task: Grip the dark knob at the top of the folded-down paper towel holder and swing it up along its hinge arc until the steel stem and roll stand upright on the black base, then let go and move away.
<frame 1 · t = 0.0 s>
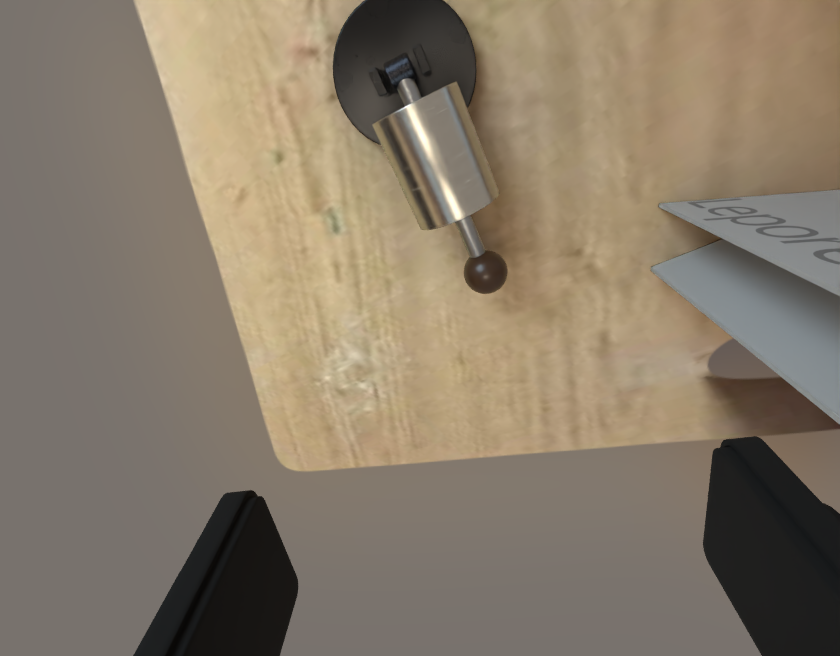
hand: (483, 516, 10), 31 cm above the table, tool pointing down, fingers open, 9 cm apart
holder base: (405, 74, 34), on the table
paper towel holder: (448, 185, 33), point 5 cm above the table, hinge at 0.0°
brochure: (745, 230, 38), on the table
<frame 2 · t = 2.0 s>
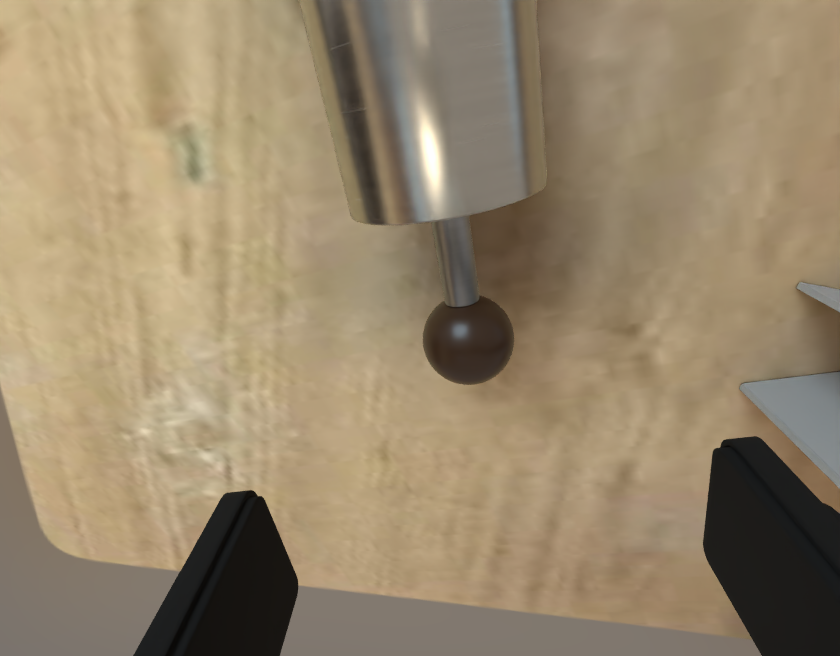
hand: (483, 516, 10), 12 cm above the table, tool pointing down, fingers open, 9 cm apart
paper towel holder: (437, 133, 14), point 5 cm above the table, hinge at 0.0°
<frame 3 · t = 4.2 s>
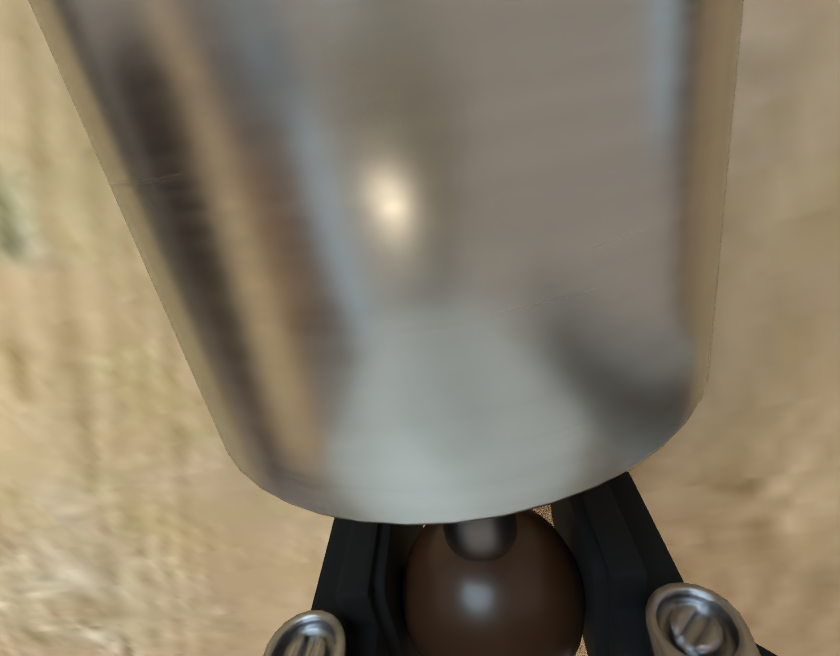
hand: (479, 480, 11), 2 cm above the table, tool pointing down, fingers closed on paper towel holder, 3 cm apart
paper towel holder: (426, 211, 6), point 5 cm above the table, hinge at 0.0°, touching gripper
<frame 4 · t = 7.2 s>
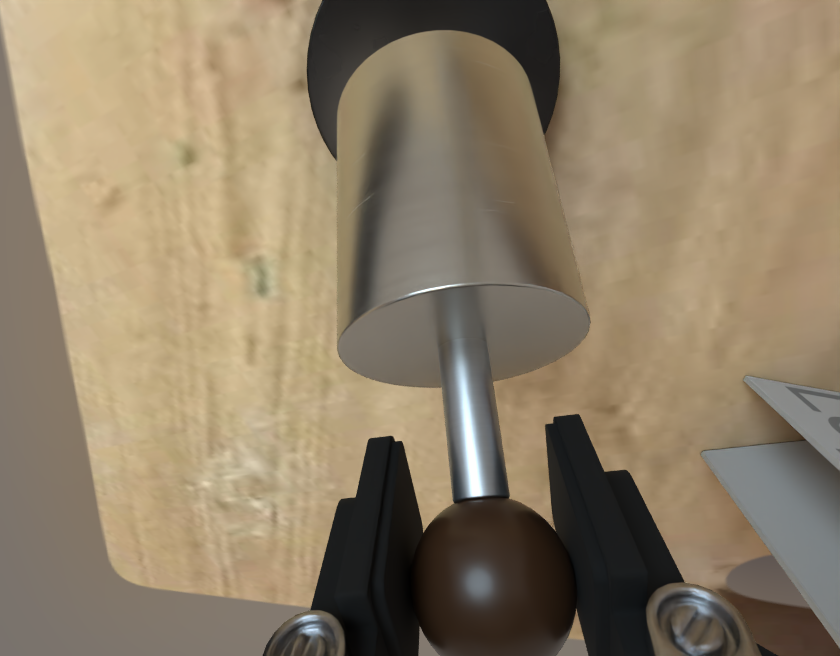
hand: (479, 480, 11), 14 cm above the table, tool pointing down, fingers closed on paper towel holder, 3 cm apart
holder base: (432, 84, 20), on the table
paper towel holder: (454, 282, 12), point 11 cm above the table, hinge at 50.9°, touching gripper
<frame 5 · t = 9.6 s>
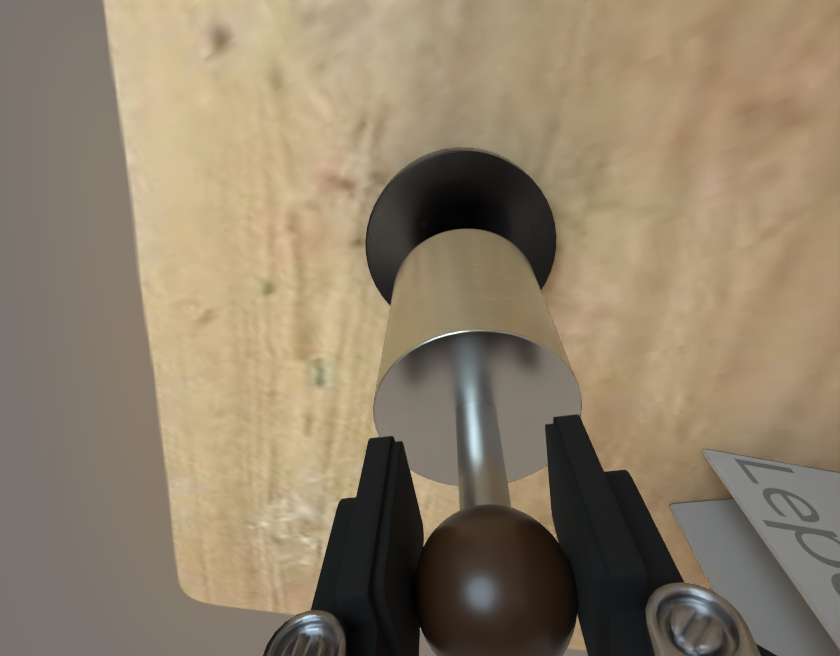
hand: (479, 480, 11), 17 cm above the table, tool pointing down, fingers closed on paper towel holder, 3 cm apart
holder base: (459, 244, 26), on the table
paper towel holder: (472, 378, 15), point 12 cm above the table, hinge at 85.3°, touching gripper
brochure: (781, 493, 33), on the table
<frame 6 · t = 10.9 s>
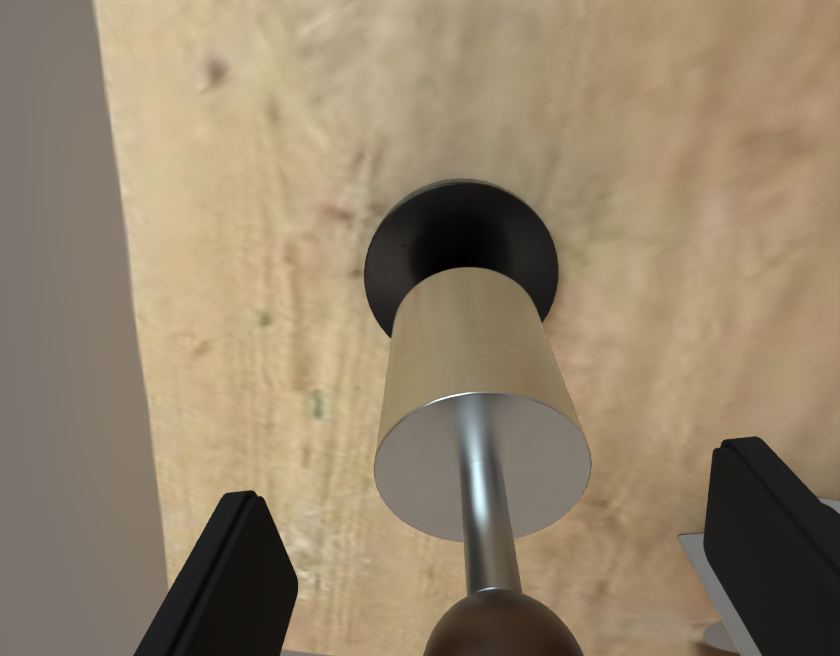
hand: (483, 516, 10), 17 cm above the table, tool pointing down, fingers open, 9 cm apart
holder base: (459, 274, 26), on the table
paper towel holder: (476, 430, 15), point 12 cm above the table, hinge at 84.1°
brochure: (792, 524, 33), on the table
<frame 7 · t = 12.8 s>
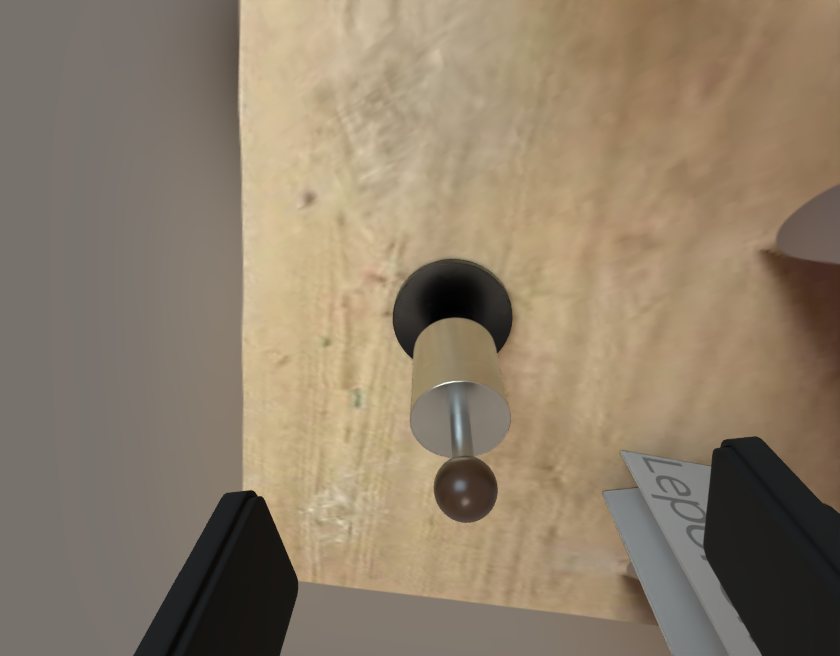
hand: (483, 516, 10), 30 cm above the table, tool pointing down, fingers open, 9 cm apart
holder base: (451, 315, 41), on the table
paper towel holder: (458, 402, 30), point 12 cm above the table, hinge at 84.1°
brochure: (679, 483, 48), on the table
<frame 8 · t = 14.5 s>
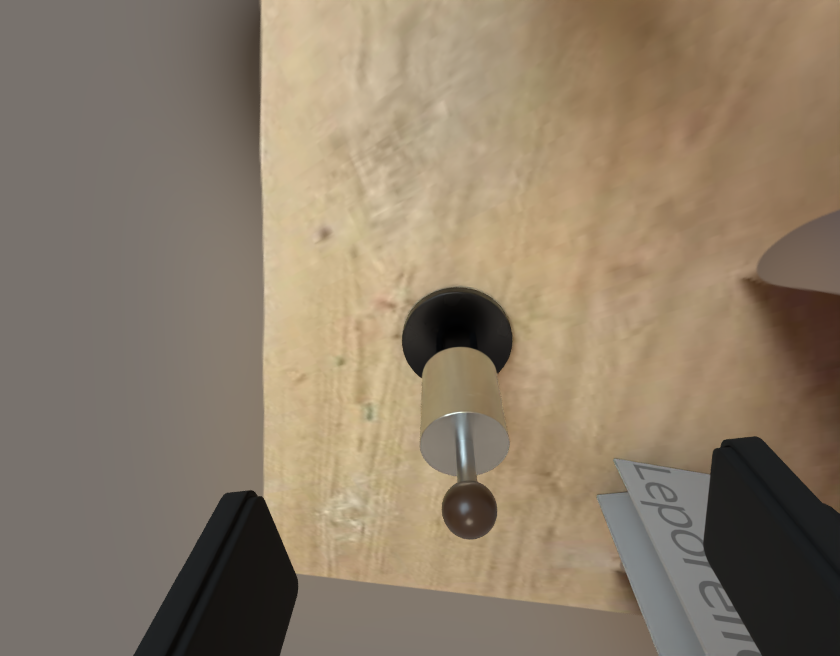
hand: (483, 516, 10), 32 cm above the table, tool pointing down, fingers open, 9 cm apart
holder base: (456, 337, 44), on the table
paper towel holder: (463, 426, 33), point 12 cm above the table, hinge at 84.1°
brochure: (668, 487, 51), on the table
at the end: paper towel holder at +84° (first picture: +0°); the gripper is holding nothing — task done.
